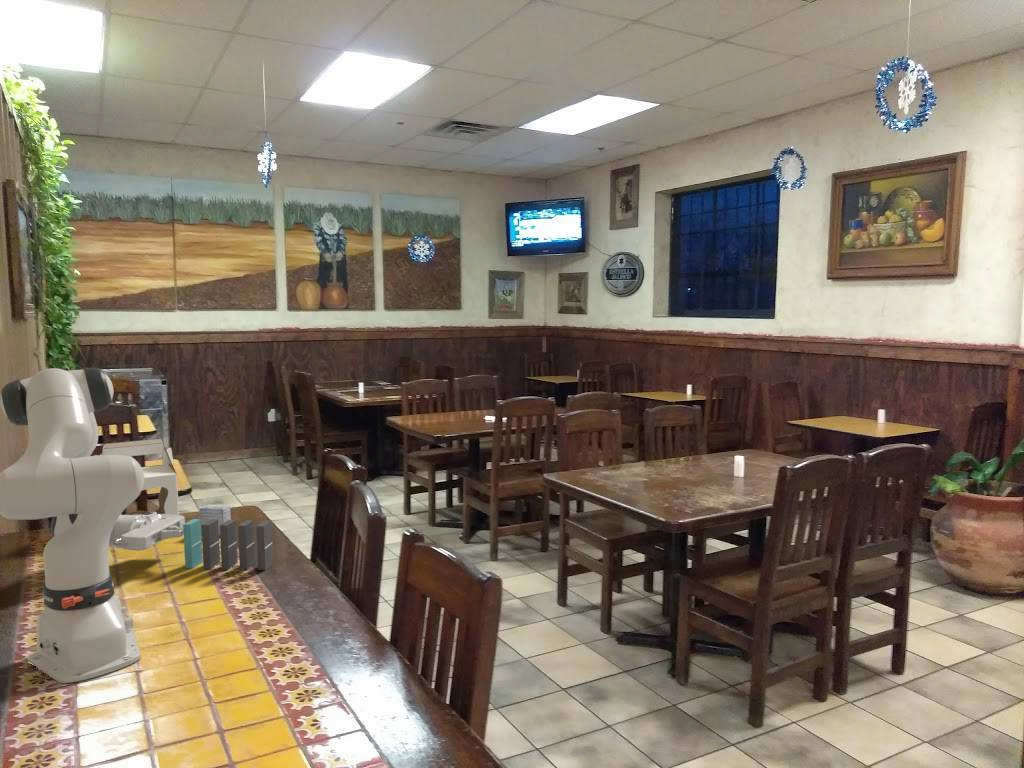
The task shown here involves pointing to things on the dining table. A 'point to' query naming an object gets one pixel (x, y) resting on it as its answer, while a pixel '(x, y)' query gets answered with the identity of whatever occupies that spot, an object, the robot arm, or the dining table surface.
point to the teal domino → (192, 543)
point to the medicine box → (214, 514)
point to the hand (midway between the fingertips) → (182, 532)
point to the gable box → (152, 471)
